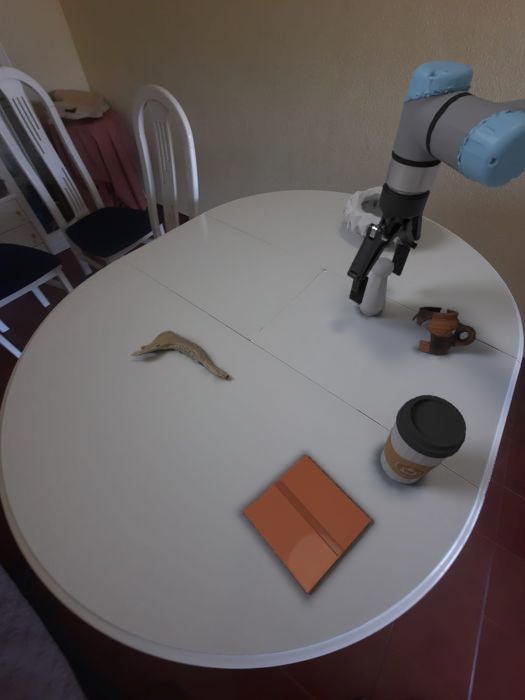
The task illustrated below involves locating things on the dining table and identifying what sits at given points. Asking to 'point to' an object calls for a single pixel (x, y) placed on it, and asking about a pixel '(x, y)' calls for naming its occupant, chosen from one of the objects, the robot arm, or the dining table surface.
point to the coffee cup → (422, 438)
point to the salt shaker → (377, 287)
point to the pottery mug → (443, 330)
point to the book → (307, 521)
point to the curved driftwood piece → (185, 346)
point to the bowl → (364, 210)
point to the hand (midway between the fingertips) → (375, 286)
